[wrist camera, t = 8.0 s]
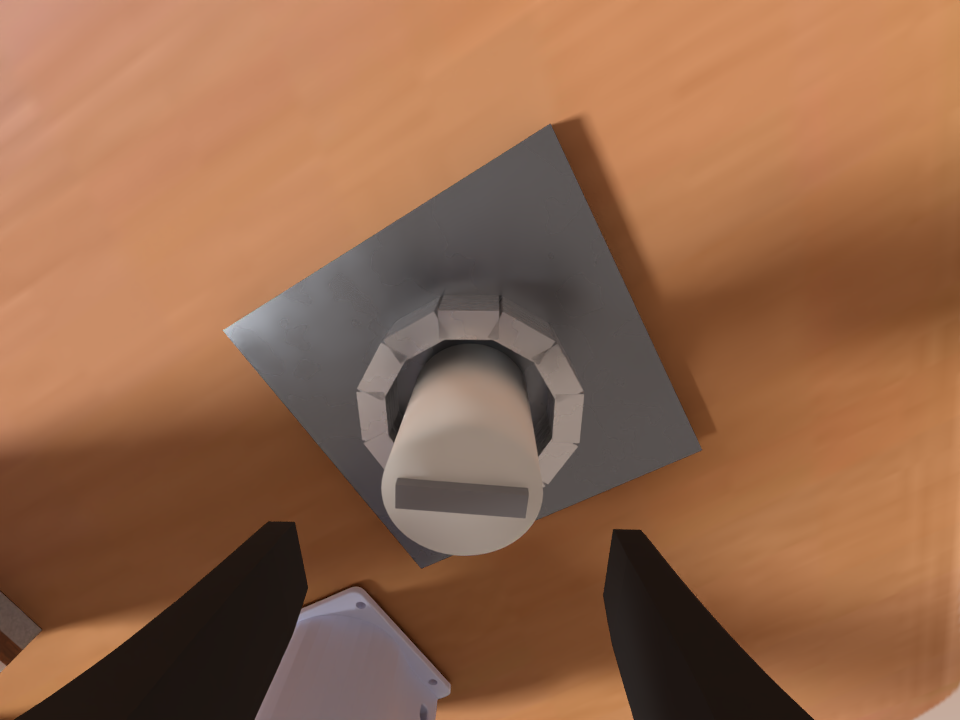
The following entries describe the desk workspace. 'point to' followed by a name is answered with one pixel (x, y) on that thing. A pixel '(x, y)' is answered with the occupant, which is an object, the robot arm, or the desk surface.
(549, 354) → the duct base
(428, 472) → the cylinder
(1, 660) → the tall hollow white pillar
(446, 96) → the desk surface
